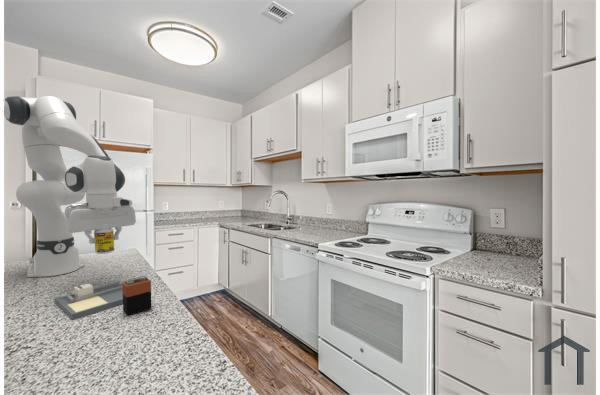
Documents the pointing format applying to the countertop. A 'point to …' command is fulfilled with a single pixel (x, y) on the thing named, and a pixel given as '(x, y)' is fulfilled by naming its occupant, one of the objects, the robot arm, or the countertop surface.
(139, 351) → the countertop surface
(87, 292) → the block
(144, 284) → the battery
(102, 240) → the supplement bottle
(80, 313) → the board
